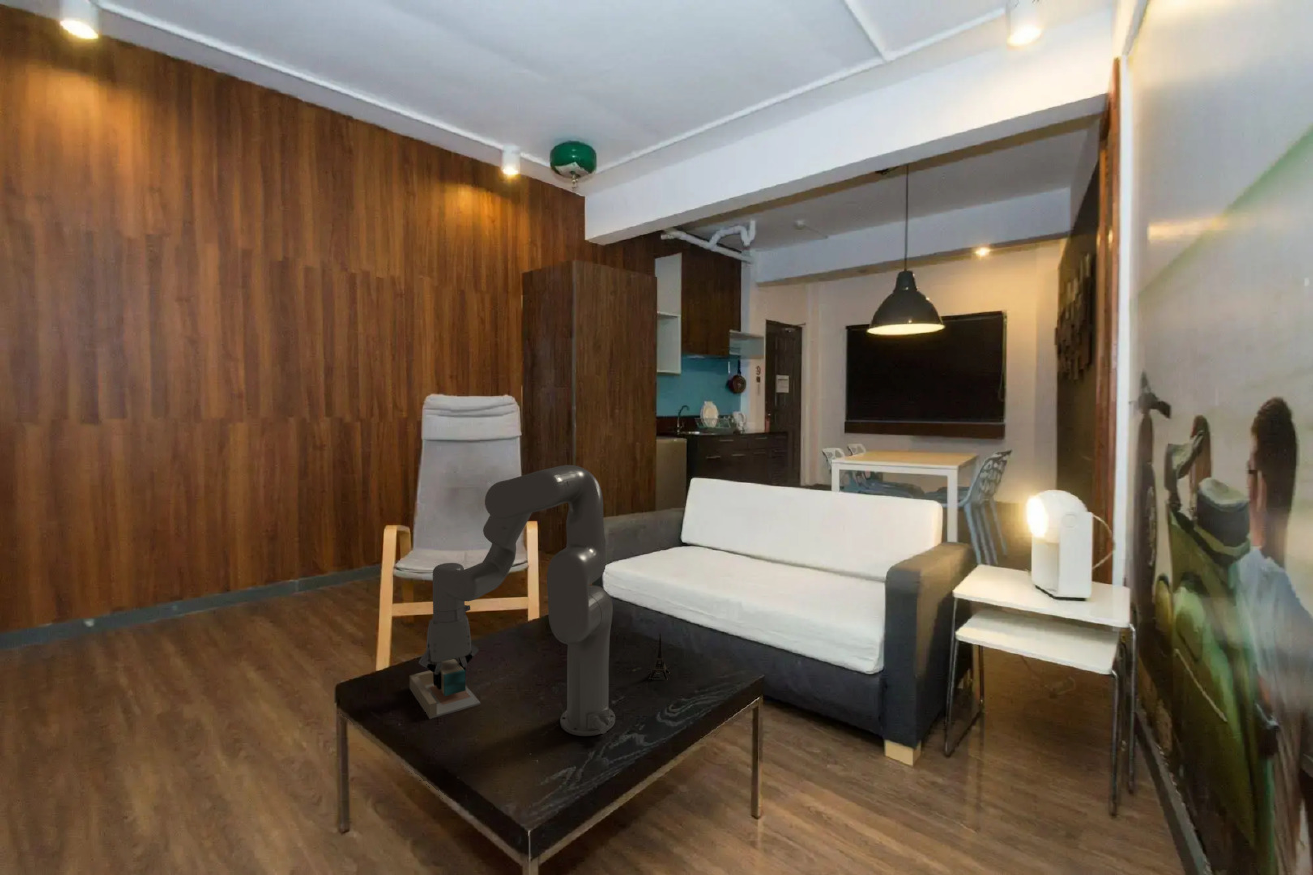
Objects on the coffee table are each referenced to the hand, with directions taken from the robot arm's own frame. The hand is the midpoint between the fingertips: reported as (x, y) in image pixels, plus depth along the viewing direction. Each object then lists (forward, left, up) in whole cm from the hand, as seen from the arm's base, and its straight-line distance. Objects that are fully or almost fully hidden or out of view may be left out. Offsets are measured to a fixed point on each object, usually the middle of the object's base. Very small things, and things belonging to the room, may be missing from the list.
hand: (449, 683), depth 153 cm
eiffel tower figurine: (-22, -50, -3) cm, 55 cm away
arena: (0, +2, -3) cm, 3 cm away
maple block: (0, 0, -1) cm, 1 cm away
